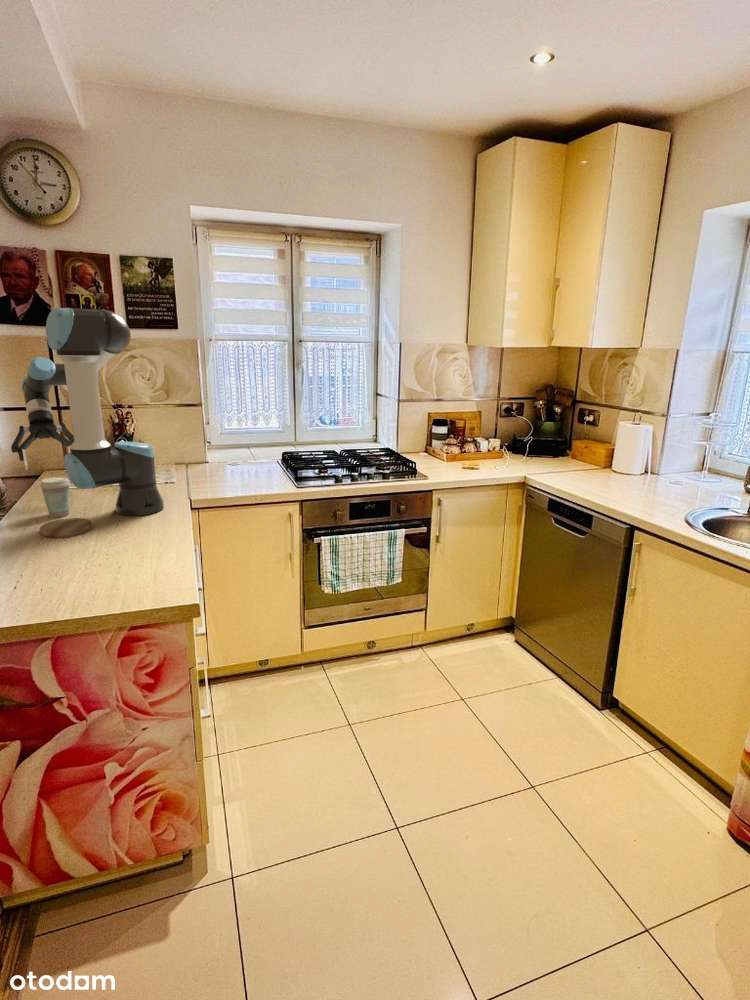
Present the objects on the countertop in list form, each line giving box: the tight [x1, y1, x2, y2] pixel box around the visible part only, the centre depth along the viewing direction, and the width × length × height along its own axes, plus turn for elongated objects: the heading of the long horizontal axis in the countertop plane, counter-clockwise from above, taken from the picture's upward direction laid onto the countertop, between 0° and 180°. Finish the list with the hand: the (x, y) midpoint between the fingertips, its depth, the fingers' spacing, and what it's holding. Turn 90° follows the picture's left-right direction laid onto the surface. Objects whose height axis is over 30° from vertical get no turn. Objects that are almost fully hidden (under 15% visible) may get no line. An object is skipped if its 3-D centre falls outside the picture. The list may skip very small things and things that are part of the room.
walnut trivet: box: [39, 517, 93, 539], centre depth 169 cm, size 14×14×2 cm
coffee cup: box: [40, 476, 71, 518], centre depth 182 cm, size 9×9×12 cm
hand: (50, 465), depth 187 cm, fingers open, 13 cm apart
